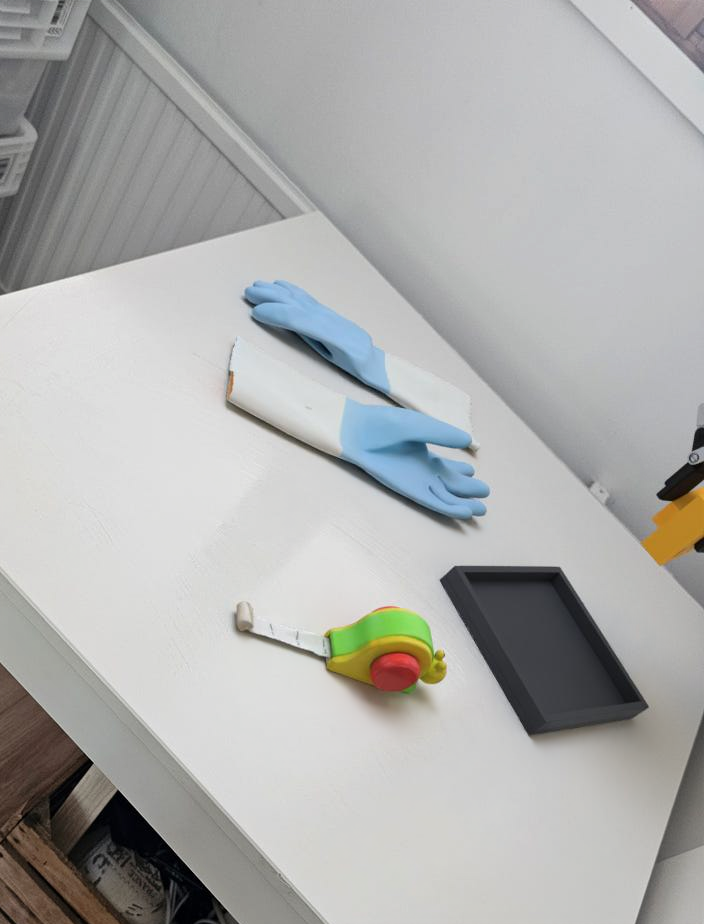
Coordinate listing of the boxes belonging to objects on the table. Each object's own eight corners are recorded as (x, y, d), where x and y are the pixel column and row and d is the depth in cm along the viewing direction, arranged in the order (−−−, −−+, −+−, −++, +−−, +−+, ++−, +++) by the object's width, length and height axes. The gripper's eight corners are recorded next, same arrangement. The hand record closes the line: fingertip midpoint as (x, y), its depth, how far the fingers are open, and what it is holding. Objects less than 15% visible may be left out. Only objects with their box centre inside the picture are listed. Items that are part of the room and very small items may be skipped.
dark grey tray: (544, 579, 112) (560, 566, 111) (632, 718, 105) (649, 707, 104) (439, 579, 101) (454, 565, 100) (528, 735, 94) (546, 722, 93)
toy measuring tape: (430, 719, 88) (481, 678, 84) (232, 649, 80) (278, 599, 76) (420, 661, 92) (468, 618, 88) (231, 588, 84) (274, 538, 80)
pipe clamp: (676, 508, 100) (731, 463, 95) (706, 543, 99) (764, 499, 94) (627, 528, 91) (685, 479, 87) (659, 566, 90) (720, 518, 86)
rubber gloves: (241, 265, 118) (271, 218, 114) (467, 399, 128) (502, 361, 124) (222, 404, 99) (257, 355, 95) (487, 548, 110) (529, 509, 106)
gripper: (954, 463, 80) (758, 600, 92) (819, 310, 88) (653, 455, 100) (919, 456, 76) (717, 601, 88) (779, 295, 83) (610, 449, 95)
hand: (685, 522), depth 94 cm, fingers closed on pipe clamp, 5 cm apart
